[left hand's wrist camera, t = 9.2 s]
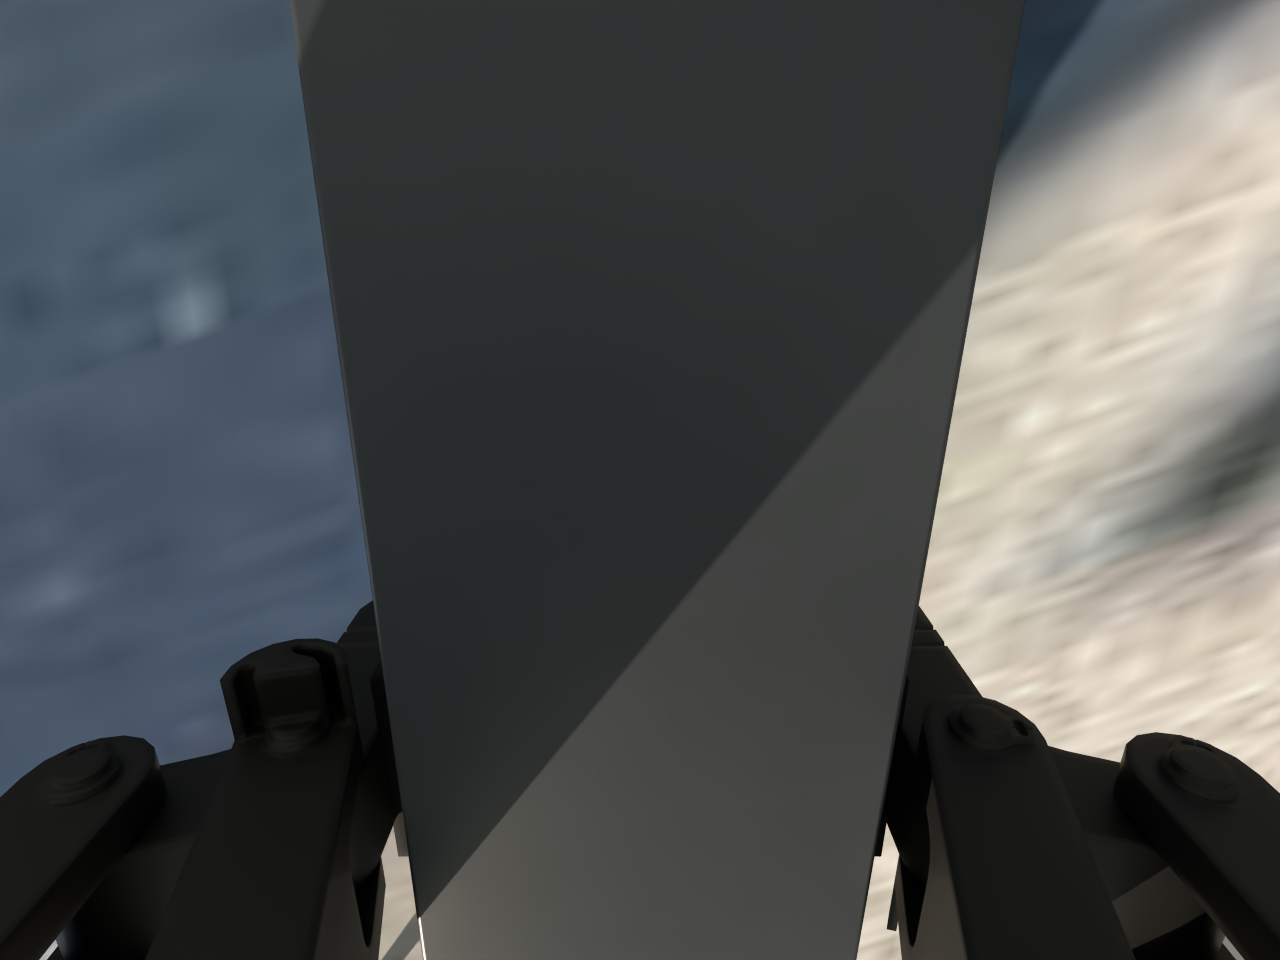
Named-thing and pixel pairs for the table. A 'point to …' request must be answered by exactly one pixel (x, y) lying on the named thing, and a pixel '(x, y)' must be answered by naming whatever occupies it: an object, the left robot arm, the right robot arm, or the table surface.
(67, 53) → the table surface
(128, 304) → the table surface
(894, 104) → the beam
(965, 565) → the table surface
